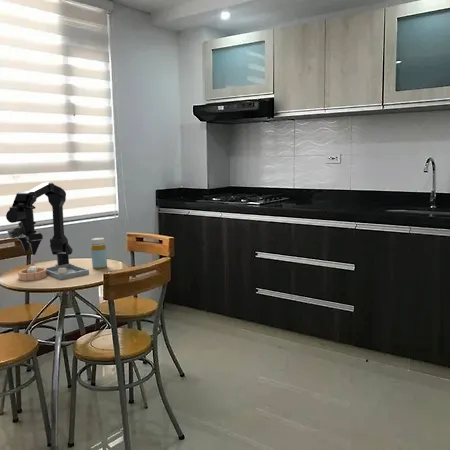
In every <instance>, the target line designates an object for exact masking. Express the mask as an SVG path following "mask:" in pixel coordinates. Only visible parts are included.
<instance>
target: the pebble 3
mask: <svg viewBox="0 0 450 450" xmlns="http://www.w3.org/2000/svg"><path fill="white" fill-rule="evenodd" d="M58 274H59V275H63V274H67V271H66V268H59V269H58Z"/></svg>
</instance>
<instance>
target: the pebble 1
mask: <svg viewBox="0 0 450 450" xmlns="http://www.w3.org/2000/svg"><path fill="white" fill-rule="evenodd" d="M27 269H28V268H27ZM27 272H28V273H35V272H36V269H28V270H27Z"/></svg>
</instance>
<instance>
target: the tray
mask: <svg viewBox="0 0 450 450" xmlns="http://www.w3.org/2000/svg"><path fill="white" fill-rule="evenodd" d="M45 268H46V269H47V276H49V277H52V278H55V279H57V280H66V279H73V278H75V277H80V276H85V275H90V271H89V269H88V268H84V267H81V266H79V265H76V264H72V263H69V264H65V265H60V266H55V265H54V266H50V267H45ZM59 268H66V271H67V274H63V275H59V274H58V269H59Z"/></svg>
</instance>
